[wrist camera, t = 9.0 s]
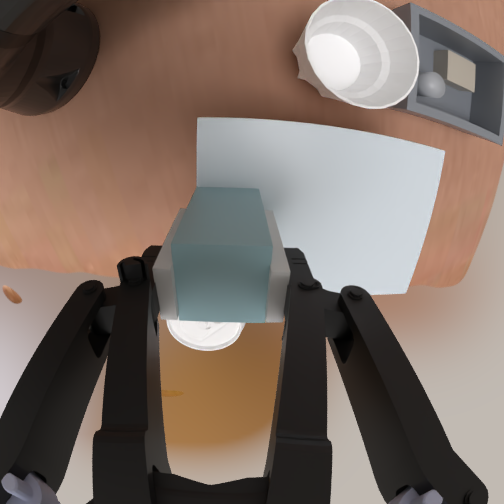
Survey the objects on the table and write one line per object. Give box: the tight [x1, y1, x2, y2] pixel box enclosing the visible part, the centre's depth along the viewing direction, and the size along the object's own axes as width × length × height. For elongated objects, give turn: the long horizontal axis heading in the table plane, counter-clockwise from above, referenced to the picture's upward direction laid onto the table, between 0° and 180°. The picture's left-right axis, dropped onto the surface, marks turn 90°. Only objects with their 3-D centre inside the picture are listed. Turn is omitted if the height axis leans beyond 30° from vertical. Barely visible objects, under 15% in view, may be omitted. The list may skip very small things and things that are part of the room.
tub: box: [386, 2, 504, 146], centre depth 22 cm, size 16×12×7 cm
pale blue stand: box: [171, 117, 445, 323], centre depth 16 cm, size 18×13×9 cm
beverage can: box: [166, 316, 245, 351], centre depth 31 cm, size 8×8×12 cm
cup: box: [292, 0, 419, 109], centre depth 21 cm, size 10×10×10 cm
